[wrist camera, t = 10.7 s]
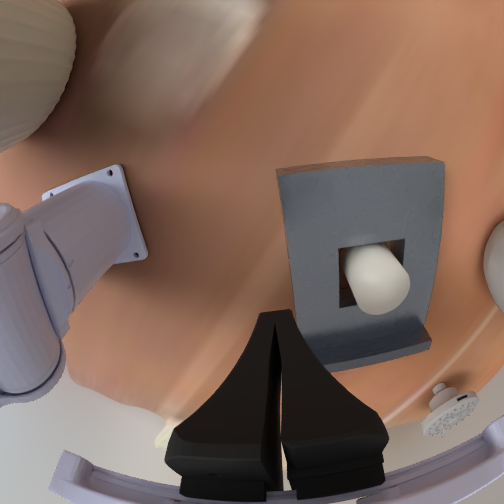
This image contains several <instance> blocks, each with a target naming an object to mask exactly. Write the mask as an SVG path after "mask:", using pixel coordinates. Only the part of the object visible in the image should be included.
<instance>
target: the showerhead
mask: <svg viewBox="0 0 504 504" xmlns="http://www.w3.org/2000/svg"><path fill="white" fill-rule="evenodd" d="M432 391H433V393H434V397H433V398H432V400H431V401H430V403H429V406H430V409H431V413H430V414H429V415H428V416H427V417H426V418H425V419H424V421H423V422H422V424H421V429H422V432H423V434H424V435H434V434H438V433H440V437H441V438H442V437H443V436H444V432H445V430H446V429H450V428H451V427H452V426H454V425H457V424H458V422H460V421H461V420H463V419H464V418H465V417H466V416H468V415H469V413H470V412H472V411H473V409H474V408H475V407H476V405H477V403H478V401H479V399H478V397H477V395H476V393H475V392H474V391H468V392H465V393H462V394H460V395H459V393H458V391H457V389H456V388H455V387H449V388H446V386H445V384H444V383H439V384H438V385H436V386H435V387H434V388H433V390H432Z"/></svg>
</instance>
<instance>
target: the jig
mask: <svg viewBox="0 0 504 504" xmlns="http://www.w3.org/2000/svg"><path fill="white" fill-rule="evenodd" d="M276 175H277V181H278V187H279V194H280V200H281V207H282V214H283V220H284V227H285V234H286V242H287V249H288V257H289V264H290V272H291V280H292V288H293V297H294V306H295V314H296V324H297V326H298V328H299V330H300V332H301V334H302V336H303V337H304V339H305V341H306V342H307V344H308V346H309V347H310V349H311V350H312V351H313V353H314V354H315V356H316V357H317V358H318V360H319V361H320V362H321V363H322V365H323V366H324V367H325V368H326V369H327V370H328V371H329V373H331V372H337V371H342V370H348V369H353V368H358V367H363V366H367V365H372V364H376V363H380V362H385V361H389V360H393V359H397V358H400V357H404V356H408V355H411V354H415V353H418V352H422V351H425V350H428V349H429V348H430V345H431V342H432V339H431V337H430V336H429V334H428V332H427V331H426V329H425V327H424V323H425V319H426V315H427V311H428V307H429V303H430V298H431V294H432V289H433V284H434V279H435V273H436V267H437V261H438V254H439V247H440V239H441V230H442V219H443V205H444V162H442V161H439V160H436V159H433V158H430V157H427V156H425V157H396V158H378V159H364V160H352V161H341V162H331V163H321V164H312V165H304V166H296V167H289V168H282V169H276ZM385 241H391V252H392V254H393V255H394V256H395V258H396V259H397V260H398V261H399V263H400V264H401V265H402V267H403V268H404V269H405V271H406V272H407V274H408V275H409V278H410V288H409V291H408V294H407V296H406V297H405V299H404V300H403V302H402V303H401V304H400V305H399V306H397V307H396V308H395V309H393V310H391V311H389V312H387V313H384V314H380V315H371V314H367V313H365V312H364V311H362V310H361V309H360V308H359V306H358V304H357V302H356V299H355V297H354V294H353V292H352V290H351V287H350V288H344V289H339V256H338V248H344V247H351V246H358V245H365V244H371V243H378V242H385Z"/></svg>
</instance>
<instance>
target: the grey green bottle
mask: <svg viewBox="0 0 504 504" xmlns="http://www.w3.org/2000/svg"><path fill="white" fill-rule="evenodd" d="M483 270H484V276H485V279H486V282H487V285H488V288H489V291H490V293H491V296H492V298H493V300H494V301H495V303H496V304H497V306H498V307H499V309H500V310H501V311H502V313H503V314H504V220H503V221H502V222H500V223H499V224H498V225H497V226H496V227H495V228H494V230H493V231H492V233H491V235H490V237H489V239H488V242H487V245H486V247H485V251H484V258H483Z"/></svg>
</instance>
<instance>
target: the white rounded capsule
mask: <svg viewBox="0 0 504 504" xmlns="http://www.w3.org/2000/svg"><path fill="white" fill-rule="evenodd" d="M340 264H341V266H342V269H343V271H344V273H345V276H346V278H347V280H348V283H349V285H350V287H351V290H352V292H353V294H354V297H355V299H356V302H357V304H358V306H359V308H360V309H361V310H362V311H364V312H365V313H367V314H371V315H380V314H384V313H387V312H389V311H391V310H393V309H395V308H396V307H397V306H399V305H400V304H401V303H402V302H403V300H404V299H405V297H406V296H407V294H408V291H409V288H410V278H409V275H408V274H407V272H406V271H405V269H404V268H403V267H402V265H401V264H400V263H399V261H398V260H397V259H396V258H395V256H394V255H393V254H392V252H391V251H390V250H389V249H388V247H387V246H386V245H385V244H384V242H378V243H371V244H365V245H358V246H351V247H344V248H342V250H341V253H340Z"/></svg>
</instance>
